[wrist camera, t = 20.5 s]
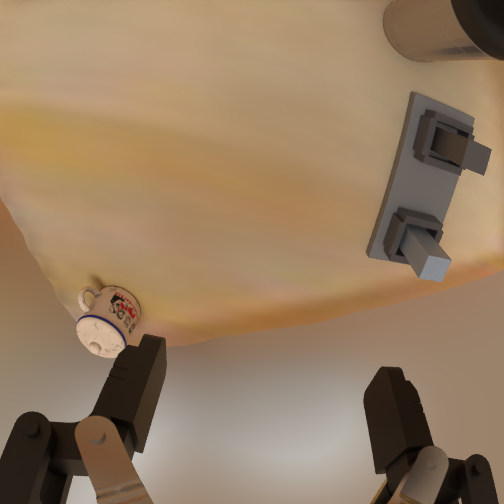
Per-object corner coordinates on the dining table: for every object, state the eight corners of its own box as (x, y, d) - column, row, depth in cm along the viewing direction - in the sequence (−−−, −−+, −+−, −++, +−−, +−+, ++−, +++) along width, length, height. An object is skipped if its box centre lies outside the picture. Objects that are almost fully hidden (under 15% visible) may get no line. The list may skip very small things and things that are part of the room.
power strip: (411, 92, 34) (452, 98, 24) (469, 116, 34) (516, 131, 25) (365, 252, 46) (386, 297, 36) (420, 262, 46) (448, 305, 36)
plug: (402, 221, 41) (429, 255, 33) (422, 226, 41) (451, 260, 33) (394, 241, 43) (418, 278, 35) (415, 245, 43) (441, 282, 35)
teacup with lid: (152, 316, 54) (131, 365, 44) (117, 328, 57) (94, 373, 47) (112, 263, 49) (80, 307, 39) (78, 280, 52) (47, 322, 42)
